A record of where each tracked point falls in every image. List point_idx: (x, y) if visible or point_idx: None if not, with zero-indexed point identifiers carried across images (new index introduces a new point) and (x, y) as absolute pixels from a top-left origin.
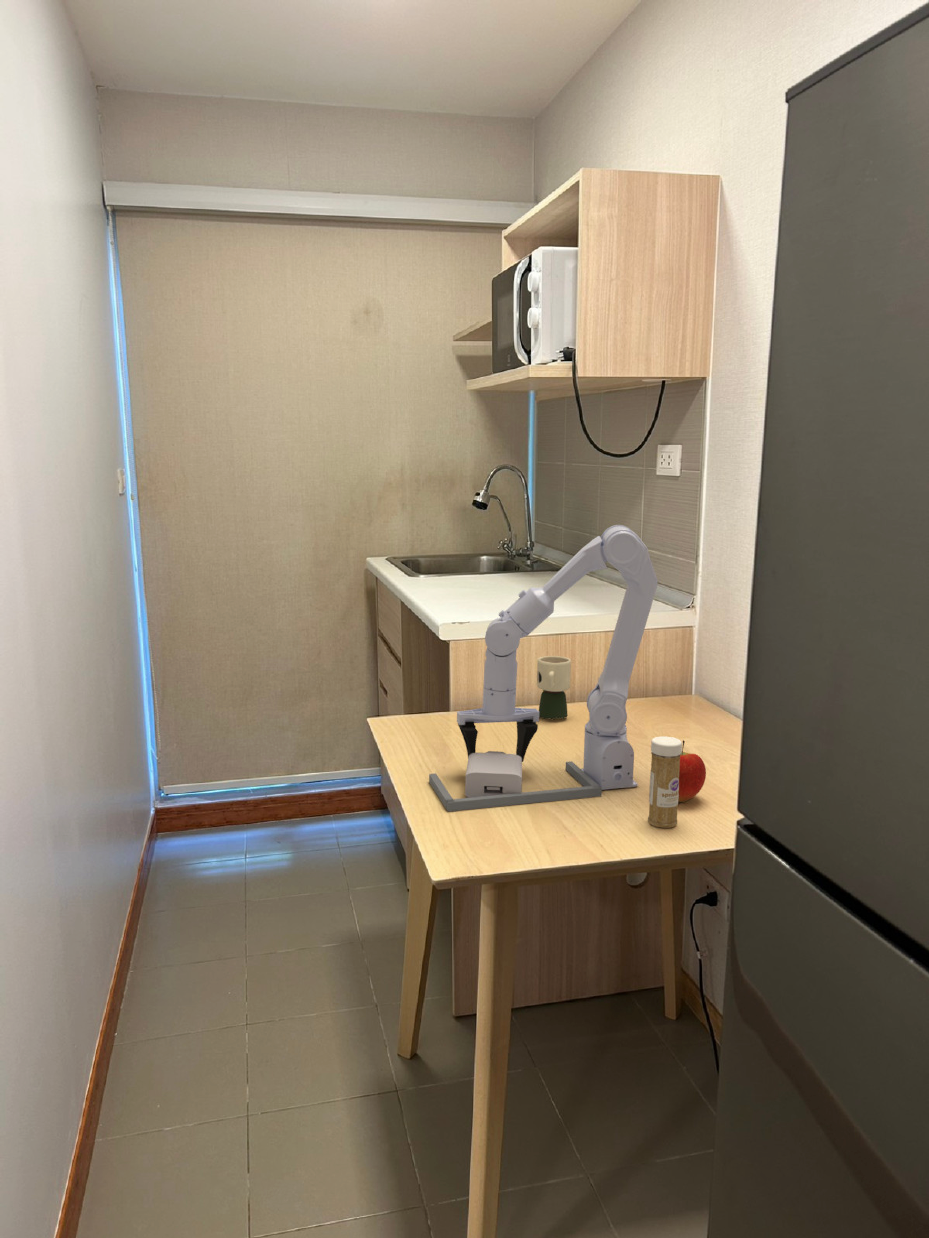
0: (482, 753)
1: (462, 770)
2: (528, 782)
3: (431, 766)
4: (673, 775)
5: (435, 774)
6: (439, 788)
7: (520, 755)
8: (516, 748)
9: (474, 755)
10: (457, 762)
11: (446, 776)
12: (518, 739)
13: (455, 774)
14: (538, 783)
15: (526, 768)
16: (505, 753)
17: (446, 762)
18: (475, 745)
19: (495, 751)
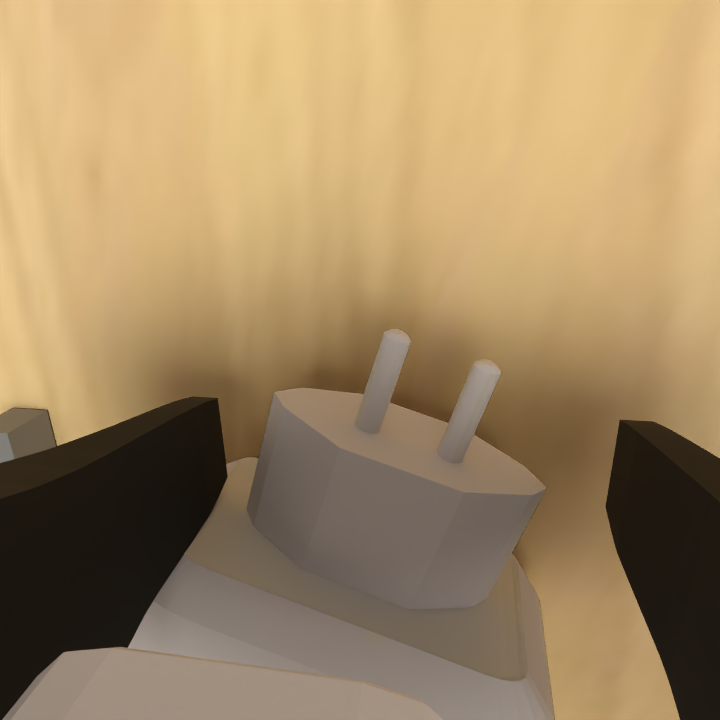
0: (220, 642)
1: (212, 269)
2: (581, 583)
3: (11, 133)
4: None
5: (6, 448)
6: None
7: (622, 556)
8: (653, 450)
9: (154, 644)
10: (195, 79)
11: (105, 347)
12: (704, 547)
13: (160, 329)
14: (637, 616)
15: (705, 353)
16: (492, 494)
17: (113, 61)
18: (136, 628)
19: (398, 472)
